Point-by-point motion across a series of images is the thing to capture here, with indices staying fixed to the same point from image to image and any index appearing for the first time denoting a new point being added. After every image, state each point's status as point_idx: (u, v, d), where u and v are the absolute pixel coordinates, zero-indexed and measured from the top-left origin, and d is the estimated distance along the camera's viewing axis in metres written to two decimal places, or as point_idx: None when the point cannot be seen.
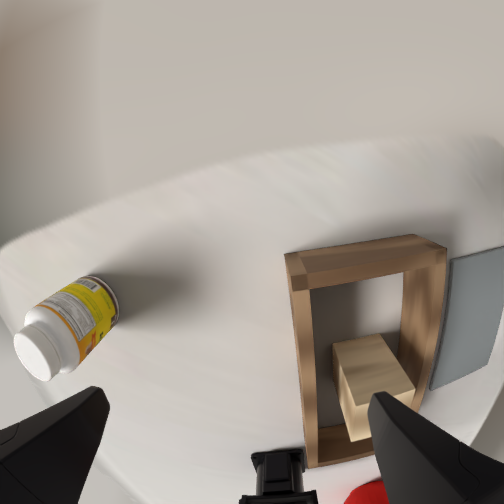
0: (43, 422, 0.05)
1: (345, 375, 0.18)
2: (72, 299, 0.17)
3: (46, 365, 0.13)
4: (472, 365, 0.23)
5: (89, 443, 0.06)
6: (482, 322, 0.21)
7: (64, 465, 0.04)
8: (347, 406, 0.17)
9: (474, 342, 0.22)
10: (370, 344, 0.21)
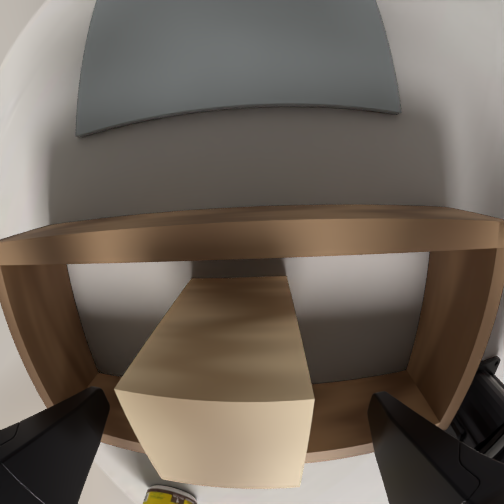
0: (43, 422, 0.05)
1: None
2: None
3: None
4: (353, 5, 0.09)
5: (89, 443, 0.06)
6: (230, 3, 0.09)
7: (64, 465, 0.04)
8: None
9: (282, 9, 0.09)
10: None
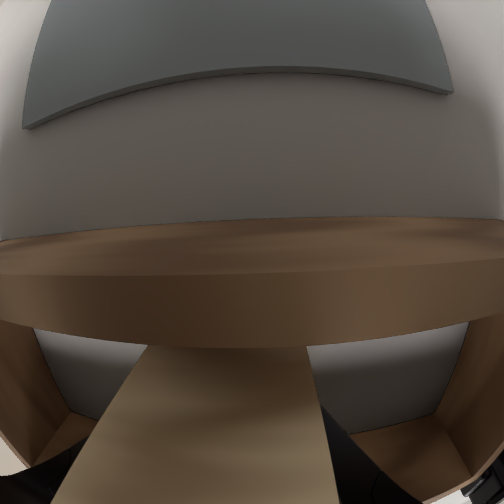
0: None
1: None
2: None
3: None
4: None
5: None
6: None
7: None
8: None
9: None
10: None
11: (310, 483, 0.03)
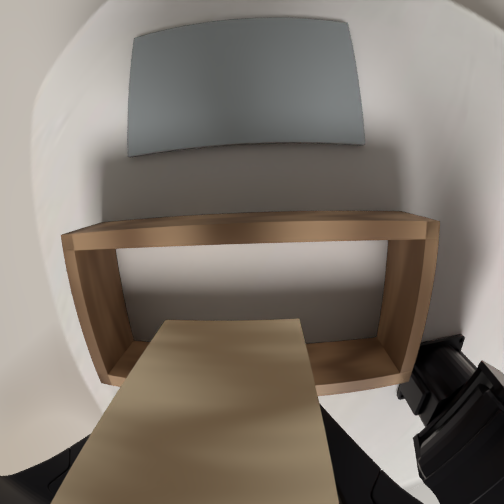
0: None
1: None
2: None
3: None
4: (335, 58, 0.14)
5: None
6: (243, 60, 0.15)
7: None
8: None
9: (281, 65, 0.15)
10: None
11: (310, 483, 0.03)
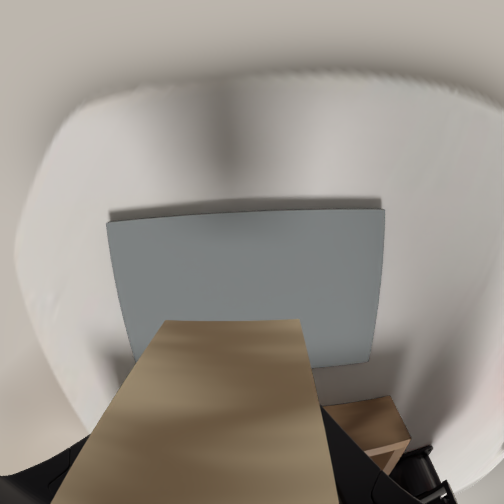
0: None
1: None
2: None
3: None
4: (358, 273, 0.15)
5: None
6: (247, 284, 0.15)
7: None
8: None
9: (293, 292, 0.15)
10: None
11: (310, 484, 0.03)
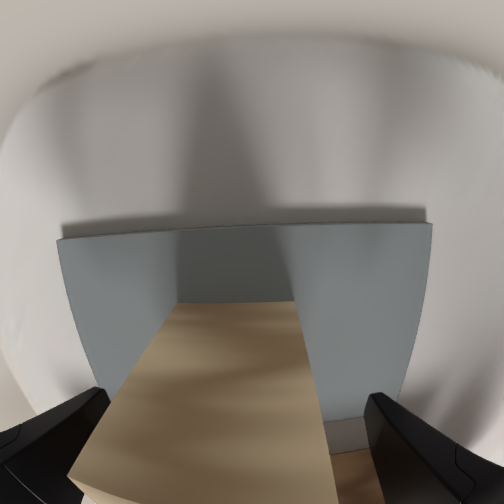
0: (45, 423, 0.05)
1: None
2: None
3: None
4: (394, 311, 0.10)
5: None
6: None
7: (67, 466, 0.04)
8: None
9: (306, 338, 0.10)
10: None
11: (302, 423, 0.04)
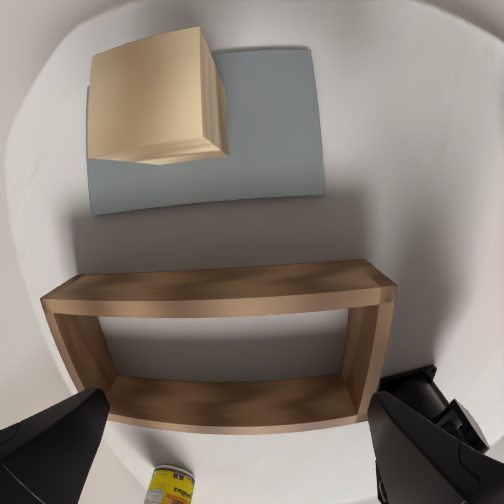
0: (43, 422, 0.05)
1: (127, 159, 0.12)
2: (147, 493, 0.21)
3: None
4: (294, 96, 0.15)
5: (89, 443, 0.06)
6: None
7: (64, 465, 0.04)
8: (157, 151, 0.10)
9: (234, 112, 0.15)
10: None
11: None
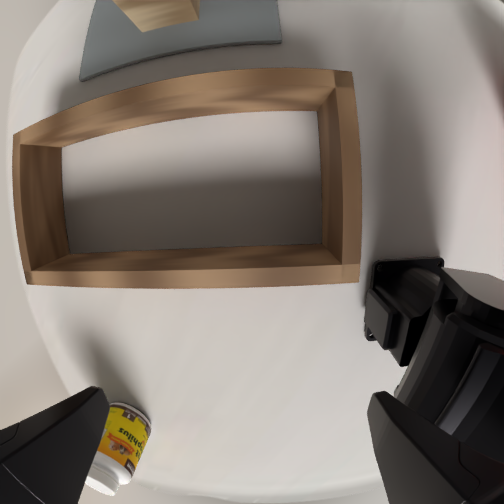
0: (43, 422, 0.05)
1: (117, 4, 0.10)
2: None
3: (89, 477, 0.13)
4: None
5: (89, 443, 0.06)
6: None
7: (64, 465, 0.04)
8: None
9: None
10: None
11: None
